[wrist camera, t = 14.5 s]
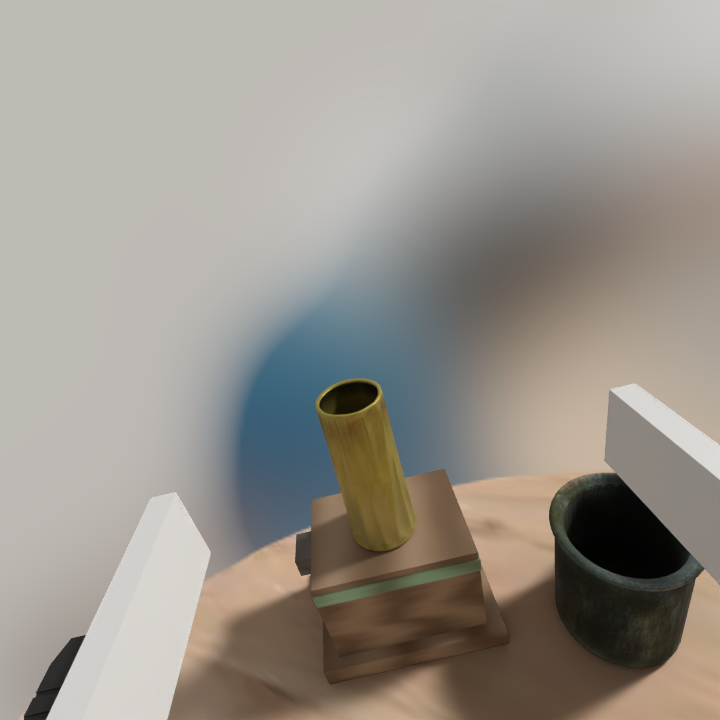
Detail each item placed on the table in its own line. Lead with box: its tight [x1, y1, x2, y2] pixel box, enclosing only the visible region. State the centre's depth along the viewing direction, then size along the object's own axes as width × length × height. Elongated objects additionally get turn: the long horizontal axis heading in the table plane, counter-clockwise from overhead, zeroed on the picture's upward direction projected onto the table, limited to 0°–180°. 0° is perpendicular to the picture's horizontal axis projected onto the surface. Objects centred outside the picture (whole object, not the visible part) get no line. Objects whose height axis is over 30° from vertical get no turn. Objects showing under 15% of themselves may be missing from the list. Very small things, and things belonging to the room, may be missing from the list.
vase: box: [316, 379, 417, 551], centre depth 35 cm, size 6×6×14 cm
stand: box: [295, 469, 509, 684], centre depth 41 cm, size 17×12×12 cm
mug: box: [549, 473, 705, 667], centre depth 37 cm, size 11×15×12 cm
